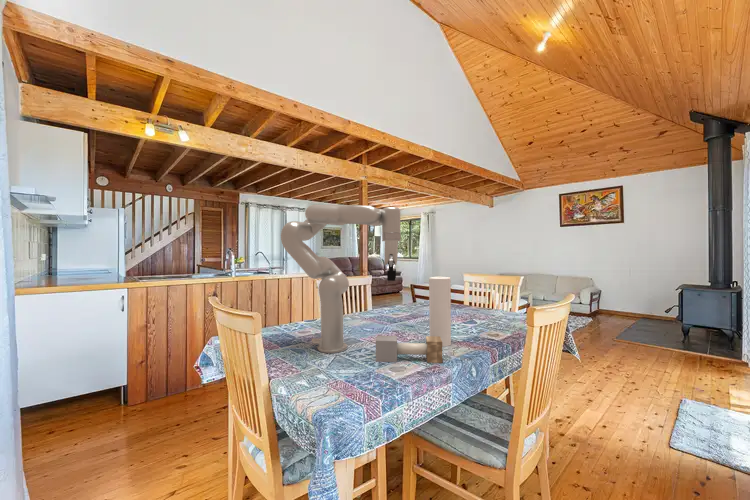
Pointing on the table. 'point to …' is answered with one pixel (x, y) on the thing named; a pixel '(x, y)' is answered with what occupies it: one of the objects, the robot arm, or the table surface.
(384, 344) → the grey block
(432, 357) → the socket
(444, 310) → the cylinder container
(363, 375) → the table surface
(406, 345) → the tube
